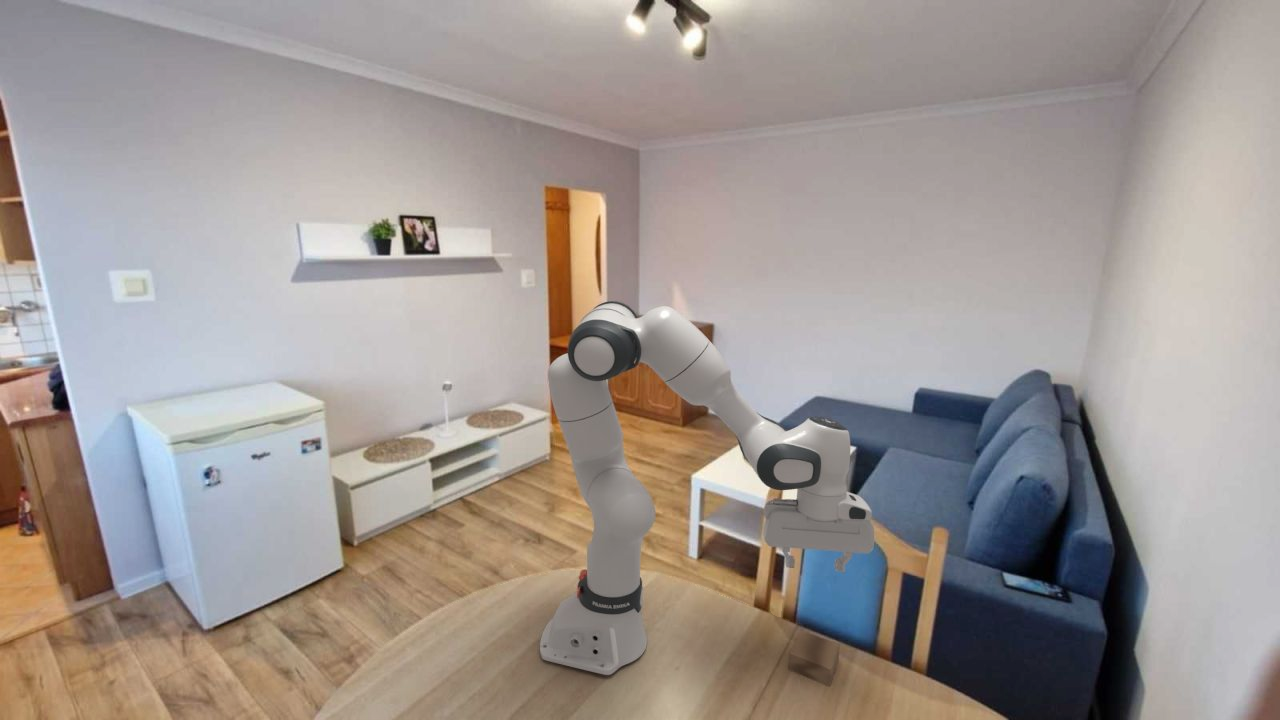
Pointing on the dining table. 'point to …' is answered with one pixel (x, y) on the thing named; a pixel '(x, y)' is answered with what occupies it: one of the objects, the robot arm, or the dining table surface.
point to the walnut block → (814, 657)
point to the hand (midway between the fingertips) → (814, 568)
